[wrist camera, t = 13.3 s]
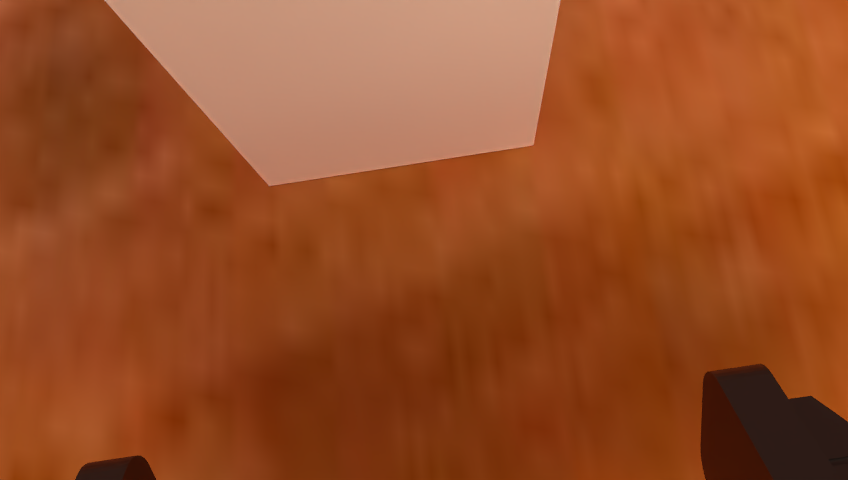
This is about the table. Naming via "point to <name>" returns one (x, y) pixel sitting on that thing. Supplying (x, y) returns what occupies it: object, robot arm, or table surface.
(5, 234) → the table surface
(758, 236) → the table surface
